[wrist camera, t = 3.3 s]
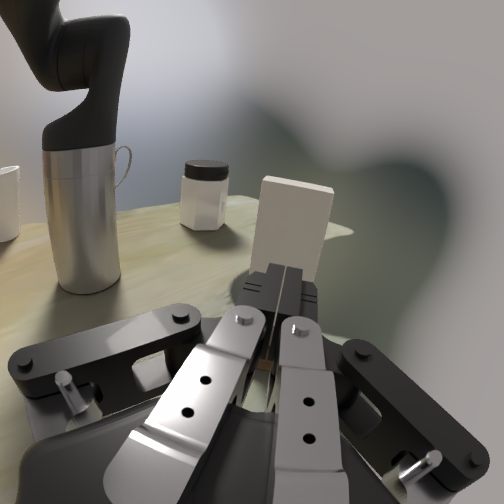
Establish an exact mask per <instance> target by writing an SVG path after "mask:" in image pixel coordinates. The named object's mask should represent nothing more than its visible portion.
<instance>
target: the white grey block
mask: <svg viewBox="0 0 504 504" xmlns="http://www.w3.org/2000/svg"><path fill="white" fill-rule="evenodd" d="M333 198H334V192H333V189H332V188H329V187H324V186H320V185H315V184H310V183H305V182H300V181H294V180H289V179H283V178H277V177H272V176H266V177H265V178H264V179H263V180H262V186H261V193H260V200H259V207H258V214H257V222H256V229H255V236H254V243H253V250H252V257H251V264H250V272H249V275H250V274H252V273H253V272H255V271H257V272H262V273H266V271H267V268H268V265H269V263H274V264H279V265H284V266H285V270H284V275H283V280H282V285H281V290H280V295H279V300H278V305H277V309H276V314H275V319H274V323H273V328H272V332H271V337H270V341H269V346H270V344H271V340H272V335H273V331H274V326H275V321H276V316H277V312H278V307H279V302H280V297H281V292H282V287H283V283H284V278H285V273H286V268H287V266H289V267H294V268H300V269H303V275H302V280H304V281H309V282H313V281H314V277H315V274H316V270H317V266H318V262H319V258H320V254H321V250H322V246H323V242H324V238H325V234H326V229H327V225H328V220H329V216H330V212H331V207H332V203H333Z"/></svg>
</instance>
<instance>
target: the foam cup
mask: <svg viewBox="0 0 504 504" xmlns="http://www.w3.org/2000/svg"><path fill="white" fill-rule="evenodd" d="M19 180H20V174H19V166H10V167H5V168H1V169H0V242H1V243H2V242H7V241H9V240H12V239H14V238H15V237H17V236H18V235H19V234H20V224H19Z"/></svg>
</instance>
